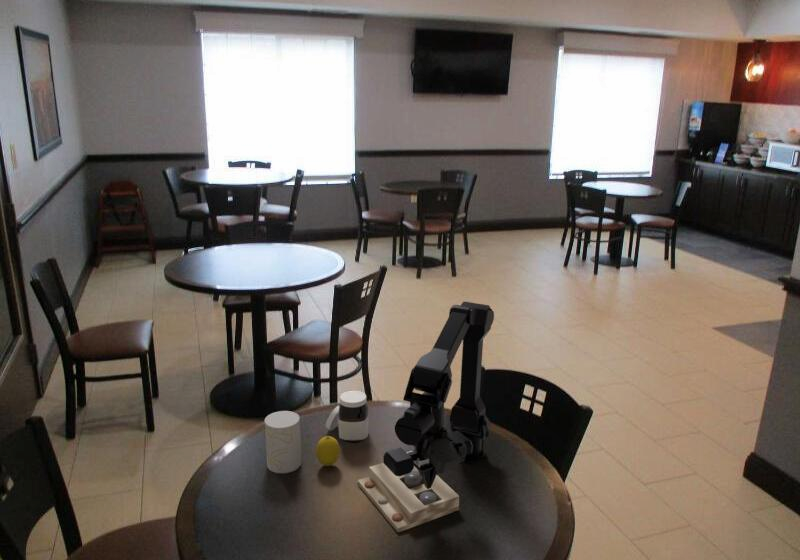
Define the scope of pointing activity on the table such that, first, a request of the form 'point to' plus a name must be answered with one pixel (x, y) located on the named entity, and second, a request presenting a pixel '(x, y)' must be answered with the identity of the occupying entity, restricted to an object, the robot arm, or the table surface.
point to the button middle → (412, 479)
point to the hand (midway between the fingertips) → (427, 487)
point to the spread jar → (350, 417)
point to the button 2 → (427, 498)
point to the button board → (406, 498)
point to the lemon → (328, 450)
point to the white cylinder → (283, 441)
